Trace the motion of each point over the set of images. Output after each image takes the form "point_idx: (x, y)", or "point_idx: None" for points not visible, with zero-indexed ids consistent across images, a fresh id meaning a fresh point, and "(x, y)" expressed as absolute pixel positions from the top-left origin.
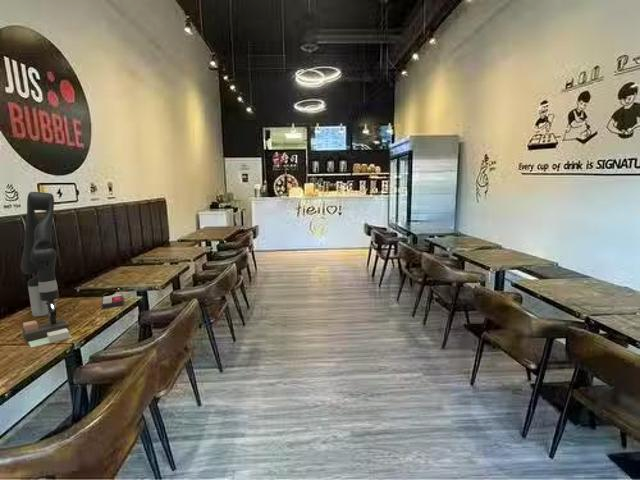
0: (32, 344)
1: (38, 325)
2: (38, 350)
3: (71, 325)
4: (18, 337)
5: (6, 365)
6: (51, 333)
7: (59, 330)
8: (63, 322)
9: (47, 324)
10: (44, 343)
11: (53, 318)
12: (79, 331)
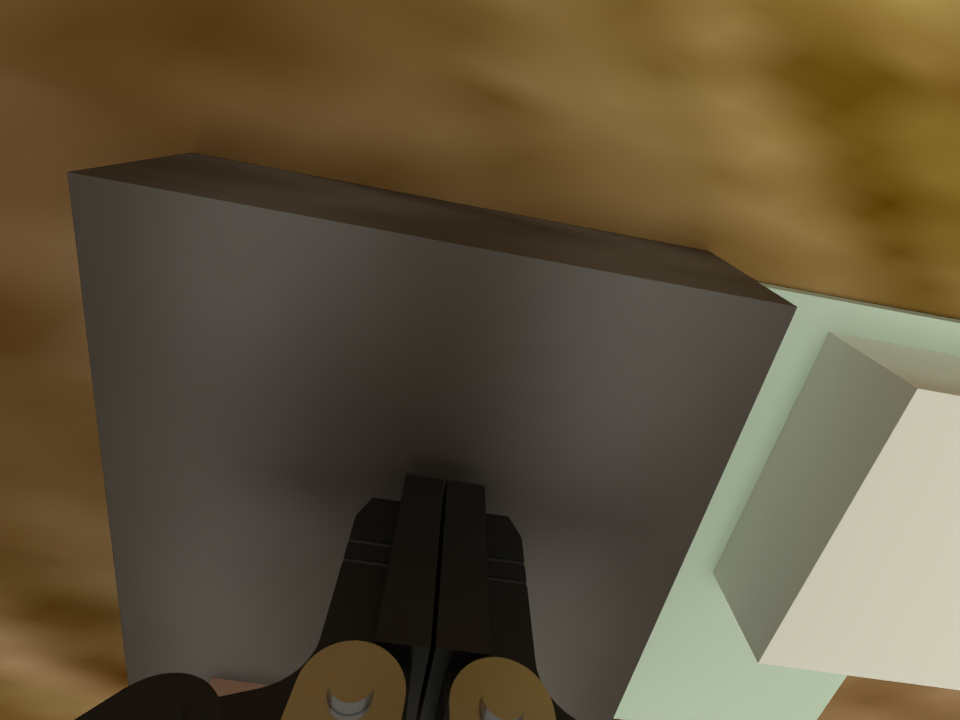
0: (714, 711)
1: (202, 652)
2: (957, 712)
3: (262, 4)
4: None
5: None
6: (883, 638)
7: (885, 517)
8: (485, 303)
9: (289, 553)
10: None
11: (511, 653)
12: (894, 89)
